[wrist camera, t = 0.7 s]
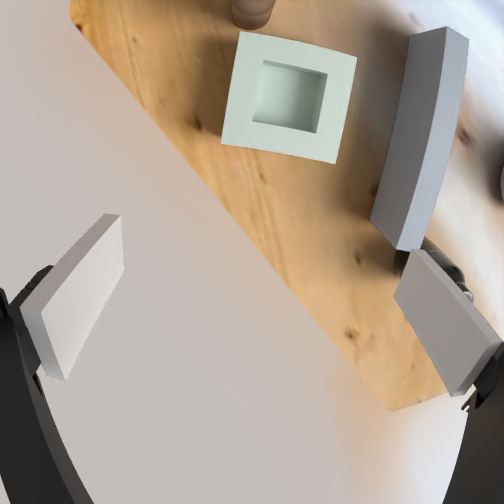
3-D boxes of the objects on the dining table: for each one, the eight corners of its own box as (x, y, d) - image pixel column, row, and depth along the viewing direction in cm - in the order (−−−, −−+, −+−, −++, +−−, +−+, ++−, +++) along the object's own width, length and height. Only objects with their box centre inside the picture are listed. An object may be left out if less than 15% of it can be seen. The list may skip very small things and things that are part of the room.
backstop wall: (409, 36, 26) (447, 26, 19) (430, 45, 27) (469, 39, 20) (368, 220, 37) (395, 249, 30) (388, 224, 37) (418, 253, 30)
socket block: (240, 41, 27) (240, 31, 23) (341, 62, 28) (357, 57, 24) (223, 138, 32) (220, 143, 28) (322, 155, 33) (335, 164, 29)
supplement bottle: (383, 267, 40) (422, 321, 29) (412, 226, 37) (462, 272, 27) (413, 286, 42) (452, 338, 31) (441, 249, 39) (488, 295, 28)
